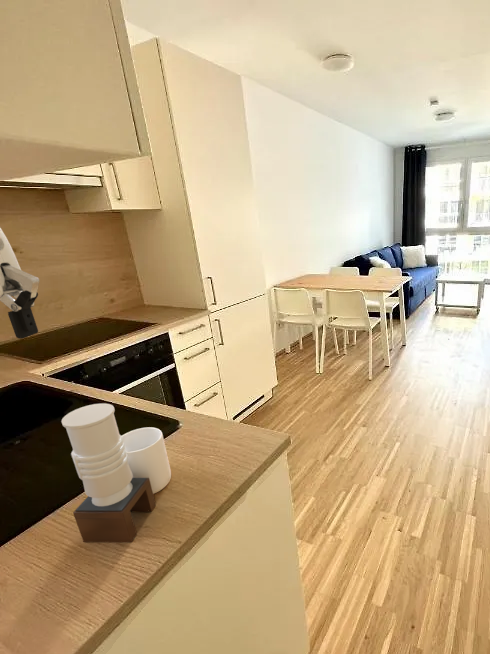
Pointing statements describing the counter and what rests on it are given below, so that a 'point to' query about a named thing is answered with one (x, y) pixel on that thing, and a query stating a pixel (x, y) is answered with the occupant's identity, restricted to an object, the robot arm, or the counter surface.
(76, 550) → the counter surface
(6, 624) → the counter surface
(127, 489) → the white ribbed cylinder
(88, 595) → the counter surface
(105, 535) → the shelf
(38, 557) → the counter surface
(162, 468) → the mug
